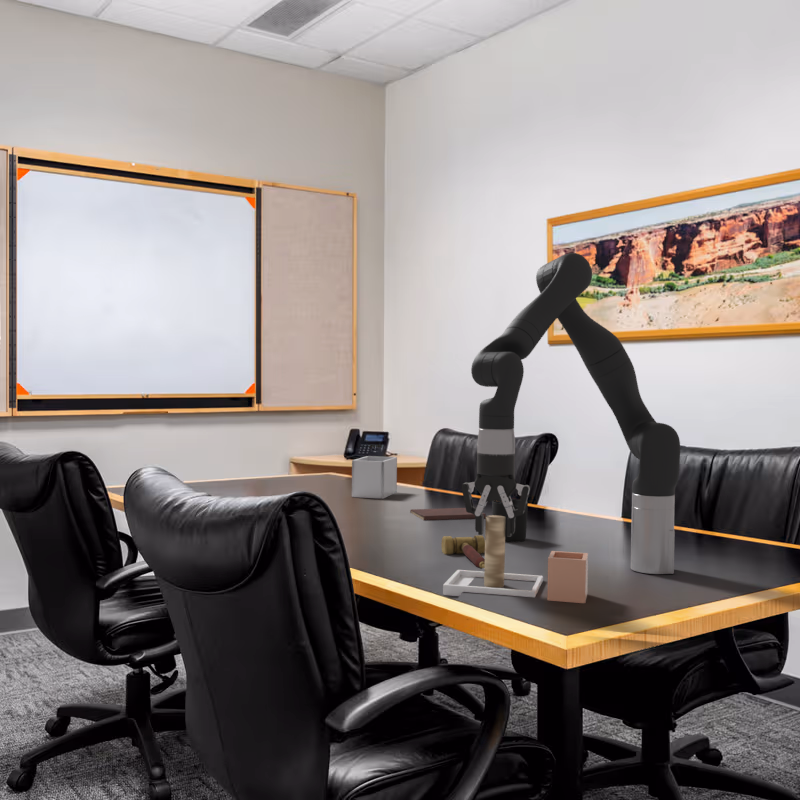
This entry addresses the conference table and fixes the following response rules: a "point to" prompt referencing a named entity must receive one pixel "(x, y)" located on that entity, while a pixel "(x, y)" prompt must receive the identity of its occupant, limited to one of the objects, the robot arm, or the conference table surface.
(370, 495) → the gray open-top cube
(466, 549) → the gavel
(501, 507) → the pen holder
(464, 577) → the tray
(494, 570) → the dowel pin
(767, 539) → the conference table surface
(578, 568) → the pink open-ended box
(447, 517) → the notebook
